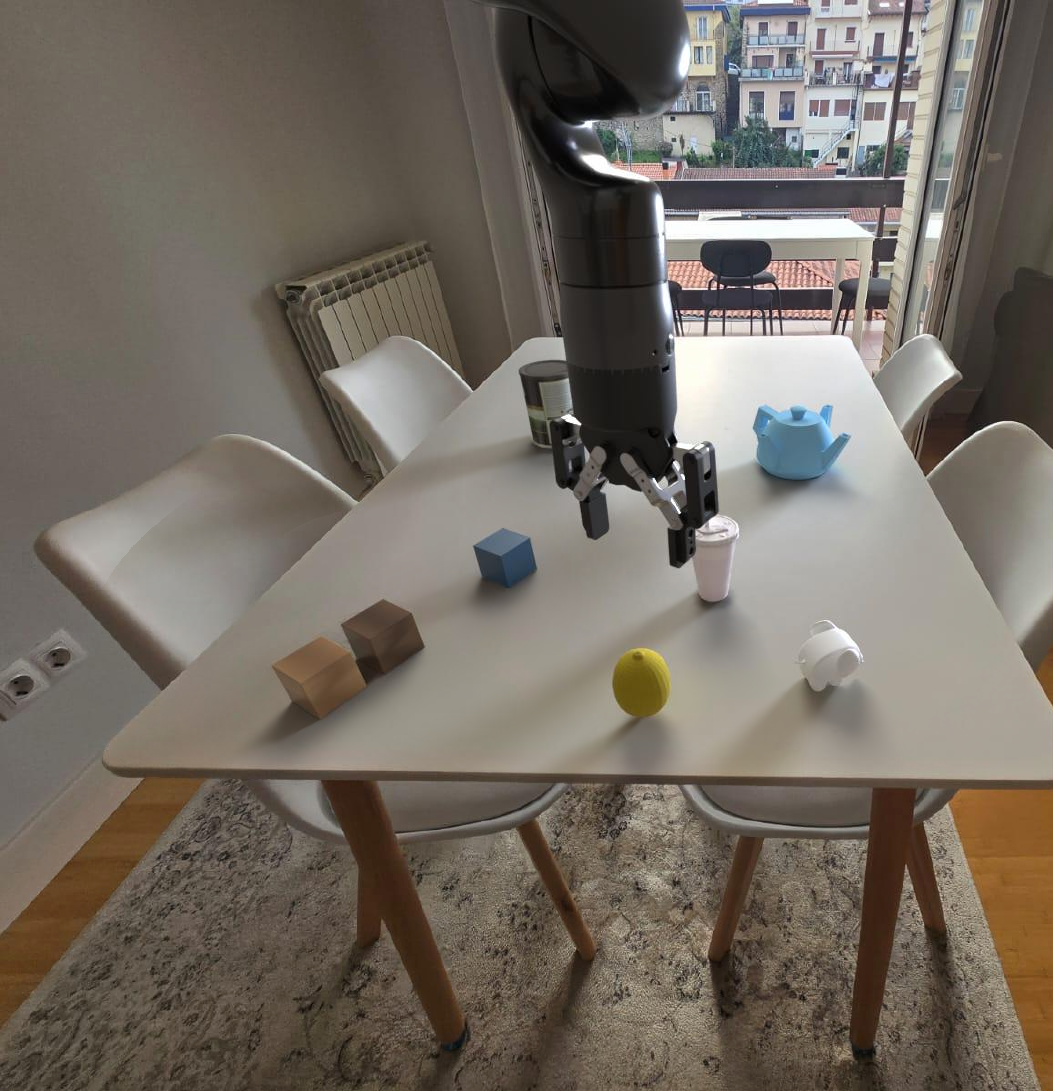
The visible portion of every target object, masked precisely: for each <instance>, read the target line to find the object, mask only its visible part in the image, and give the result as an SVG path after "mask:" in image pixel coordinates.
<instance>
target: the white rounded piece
mask: <svg viewBox="0 0 1053 1091" xmlns="http://www.w3.org/2000/svg"><path fill="white" fill-rule="evenodd" d="M808 632H809V636H810V638H808V640H806V641H805V642H804V643H803V644H802V646H801V647H800V649H799V651H798V654H797V661H793V664H794V665H795V664H798V667H799V670H800V672H801V674H802V675H803V677H804V678H805V679H806V680H807V682H808V684H809V686H810V688H811V690H813V691H815V692H822V691H823V690H824V689H825V687H826V686H827V683H829V685H831V686H832V687H838V686H840V685H841V683H842V681H843V679H845V678H847V677H849V676H850V675H851V674H853V673H854V672H855V671H856V670H858V668H859V666H860V664H863V663H865V660H863V658H864V656H863V654H862V653H861V650H860V648H859V646H858V644H857V643H856V642H855V641H854V640H853V639H852V638H851V636H850V634H848V633H847V632H846V631H845V630H843V629H840V628H838V627H837V626H836V625H835V624H834V623H833V622H832V621H830V620H827V619H823V620H819V621H817V622H815V623H813V624H812V625H811V626H810V627H809V629H808Z"/></svg>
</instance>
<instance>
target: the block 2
mask: <svg viewBox="0 0 1053 1091" xmlns="http://www.w3.org/2000/svg"><path fill="white" fill-rule="evenodd" d="M340 627H341V629H342V632H343V633H344V635H345V637H346V640H347V642H348V644H349V646H350V648H351V650H352V653H353V654H354V657H355V659H357V660H358V661H360V662H361V663H364V664H365V665H367V666H368V667H371V668H372V669H374V670H376V671H378V672H379V673H381V674H383V675H387V674H388V673H390V672H391V671H393V669H395V668H397V667H398V666H399V665H401V664H402V663H404V662H405V661H407V660H408V659H410V658H411V657H412V656H414V655H415V654H416V653H418V652H420V651H421V650H422V649H424V648H425V647H426V646H425V643H424V641H423V639H422V636H421V633H420V630H419V628H418V625H417V622H416V620H415V617H414V615H413V613H412V612H411V611H409V610H407V609H405V608H403V607H401V606H399V605H396V604H394V603H393V602H390V601H388V600H387V599H384V598H383V599H381V600H379V601H377V602H375V603H374V604H372V605H370V606H369V607H367V608H365V609H363V610H362V611H361V612H358V613H357V614H355V615H353V616H352V617H350V618H348V619H346V620H345V621H343V622H342V623H341V624H340Z"/></svg>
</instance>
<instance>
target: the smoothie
mask: <svg viewBox="0 0 1053 1091" xmlns="http://www.w3.org/2000/svg"><path fill="white" fill-rule="evenodd" d="M695 530H696V540H695V541H696V552H695V555H694V556H693V557H692V558H691V560H692V565H693V571H694V576H695V582H696V585H697V590H698V595H699V597H700V599H702V600H704V601H706V602H713V603H714V602H715V603H716V602H719V601H723V600H725V598H727V596H728V594H729V589H730V581H731V575H732V568H733V561H734V554H735V547H736V541H737V540H738V539H739V537H740V531H739V525H738V523H737V522H736V521H735V520H734V519H732V518H731V517H729V516H726V515H722V514H717V515H716V516H714V517H713V518H711V519H710V520H709V521H708V522H706V523H705V524H704V525H703V526H702V527H701V528H700V529H695Z"/></svg>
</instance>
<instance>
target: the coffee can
mask: <svg viewBox="0 0 1053 1091" xmlns="http://www.w3.org/2000/svg"><path fill="white" fill-rule="evenodd" d="M518 375H519V377H520V382H521V386H522V392H523V397H524V403H525V406H526V411H527V417H528V422H529V426H530V431H531V436H532V443H533V444H534V445H535V446H536V447H538V448H541V449H548V450H552V444H551V435H550V427H549V424H550V422H551V421H552V420H555V419H557V418H559V417H562V416H564V415H566V414H569V413H571V412H573V407H572V400H571V393H570V386H569V378H568V372H567V364H566V359H565V360H564V359H544V360H538V361H533V362H529V363H527V364H524V365H522V366H521V367H519V368H518Z"/></svg>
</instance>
